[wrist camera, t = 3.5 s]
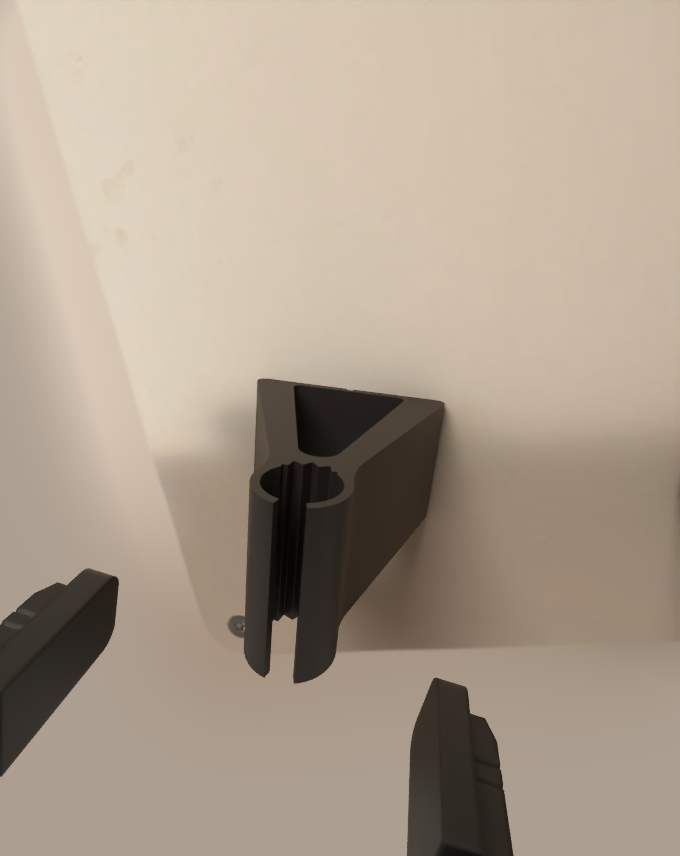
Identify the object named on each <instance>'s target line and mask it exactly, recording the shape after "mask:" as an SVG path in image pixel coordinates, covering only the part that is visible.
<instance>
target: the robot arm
mask: <svg viewBox="0 0 680 856" xmlns="http://www.w3.org/2000/svg"><path fill="white" fill-rule="evenodd" d="M118 585H119V581H118V578H117V577H115V576H111V575H108V574H105V573H102V572H99V571H95V570H92V569H85V570H83V571H82V572H81V573H80V574H79V575H78V576H77V577H75V578H74V579H73V580H72V581H71V582H70V583H69V584H68V585H64V584H61V583H56V584H54V585H51V586H50V587H47V588H45V589H43V590H41V591H39V592H36V593H34V594H33V595H32V596H31V597H30V598H29V599H28V600H26V601H25V602H24V603H23V604H22V605H21V606H19V607H18V608H17V610H16V612H13V613H12V614H10V615H9V616H8V617H7V618H6V619H5V620H3V622H2V624H1V625H0V776H2V775H3V774H4V773H5V772H6V770H7V769H8V768H9V767H10V765H11V764H12V763H13V762H14V761H15V759H16V758H17V757H18V756H19V754H20V753H21V752H22V751H23V749H24V748H25V747H26V746H27V744H28V743H29V742H30V741H31V739H32V738H33V737H34V736H35V735H36V733H37V732H38V731H39V730H40V728H41V727H42V726H43V725H44V723H45V722H46V721H47V720H48V718H49V717H50V716H51V715H52V713H53V712H54V711H55V710H56V708H57V707H58V706H59V705H60V704H61V702H62V701H63V700H64V699H65V697H66V696H67V695H68V694H69V692H70V691H71V690H72V689H73V687H74V686H75V685H76V684H77V682H78V681H79V680H80V679H81V677H82V676H83V675H84V674H85V673H86V671H87V670H88V669H89V668H90V666H91V665H92V664H93V663H94V661H95V660H96V659H97V658H98V657H99V655H100V654H101V653H102V651H103V650H104V649H105V647H106V646H107V644H108V642H109V640H110V638H111V635H112V632H113V630H114V626H115V616H116V606H117V596H118ZM502 788H503V781H502V774H501V770H500V760H499V754H498V746H497V741H496V739H495V737H494V735H493V733H492V731H491V729H490V728H489V725H488V723H487V722H486V720H485V718H482V717H479V716H476V715H473V714H470V709H469V698H468V691H467V688H466V687H464V686H461V685H458V684H455V683H451V682H448V681H445V680H442V679H439V678H434V679H433V681H432V683H431V686H430V688H429V690H428V693H427V695H426V698H425V700H424V703H423V706H422V708H421V710H420V713H419V715H418V718H417V721H416V723H415V727H414V730H413V735H412V741H411V749H410V777H409V810H408V811H409V812H408V842H407V856H513V851H512V843H511V837H510V830H509V823H508V816H507V809H506V802H505V795H504V790H503V789H502Z"/></svg>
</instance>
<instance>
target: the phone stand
mask: <svg viewBox="0 0 680 856" xmlns="http://www.w3.org/2000/svg"><path fill="white" fill-rule="evenodd" d="M444 405H445V404H444V403H443V402H441V401H436V400H428V399H420V398H413V397H405V396H397V395H389V394H381V393H374V392H366V391H358V390H353V391H350V390H347V389H342V388H335V387H327V386H319V385H311V384H303V383H296V382H288V381H280V380H272V379H258V381H257V409H256V436H255V463H254V473H253V474H252V476H251V478H250V486H249V516H248V546H247V575H246V605H245V635H244V654H245V658H246V660H247V662H248V664H249V665H250V667H251V668H252V669H253V670H254V671H255V672H256V673H258V674H259V675H260V676H262V677H265V676H266V675H267V674H268V673H269V671H270V653H271V635H272V621H273V620H276V621H279V620H280V618H281V617H282V616H283V615H286V616H287V617H289V618H290V619H294V618H296V617H298V620H297V633H296V647H295V660H294V673H293V678H294V683H301V682H306V681H309V680H312V679H314V678H316V677H318V676H319V675H321V674H322V673H324V672H325V671H326V670H327V669H328V668H329V666H330V665H331V664H332V662H333V660H334V658H335V654H336V647H337V638H338V628H339V625H340V623H341V621H342V619H343V617H344V616H345V614H346V613H347V612H348V611H349V610H350V608H351V607H352V606H353V605H354V603H355V602H356V601H357V600H358V599H359V597H360V596H361V595H362V594H363V593H364V591H365V590H366V589H367V588H368V586H369V585H370V584H371V583H372V582H373V580H374V579H375V578H376V577H377V576H378V574H379V573H380V572H381V571H382V569H383V568H384V567H385V566H386V565H387V563H388V562H389V561H390V560H391V559H392V557H393V556H394V555H395V554H396V552H397V551H398V550H399V549H400V548H401V546H402V545H403V544H404V543H405V542H406V540H407V539H408V538H409V537H410V535H411V534H412V533H413V532H414V531H415V529H416V528H417V527H418V526H419V525H420V523H421V522H422V521H423V520H424V518H425V517H426V512H427V506H428V500H429V494H430V488H431V482H432V476H433V470H434V464H435V458H436V453H437V447H438V441H439V435H440V429H441V423H442V417H443V411H444Z"/></svg>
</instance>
